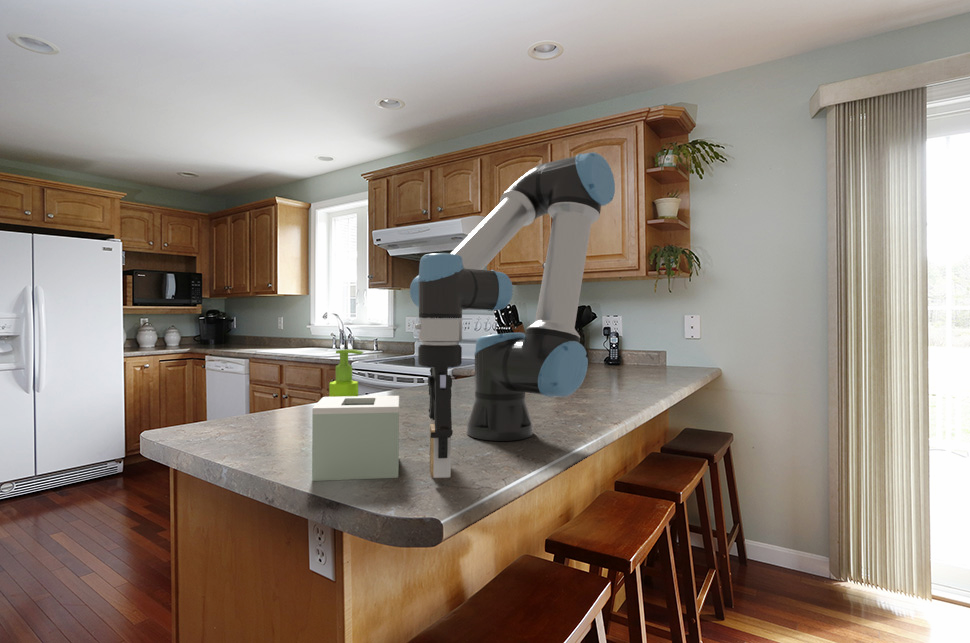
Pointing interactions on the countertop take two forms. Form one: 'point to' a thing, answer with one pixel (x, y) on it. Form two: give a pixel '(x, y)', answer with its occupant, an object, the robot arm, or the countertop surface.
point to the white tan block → (432, 449)
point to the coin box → (355, 438)
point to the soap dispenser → (344, 377)
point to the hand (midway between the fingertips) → (438, 465)
